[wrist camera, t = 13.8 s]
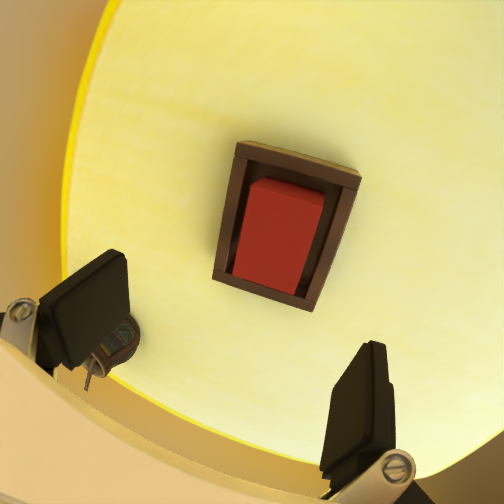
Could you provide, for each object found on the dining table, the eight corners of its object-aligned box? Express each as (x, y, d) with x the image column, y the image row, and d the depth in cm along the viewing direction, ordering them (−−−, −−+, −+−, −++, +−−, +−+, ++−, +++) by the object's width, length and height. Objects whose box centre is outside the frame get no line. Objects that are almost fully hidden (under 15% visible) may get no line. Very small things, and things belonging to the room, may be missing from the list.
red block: (265, 175, 20) (250, 185, 17) (325, 192, 20) (323, 206, 16) (247, 252, 23) (231, 275, 20) (300, 269, 23) (293, 295, 19)
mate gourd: (140, 304, 31) (87, 359, 22) (153, 351, 34) (112, 405, 25) (98, 293, 33) (46, 337, 24) (113, 338, 36) (71, 383, 27)
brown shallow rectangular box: (248, 140, 20) (236, 141, 18) (358, 171, 19) (362, 177, 17) (223, 264, 25) (211, 279, 23) (315, 294, 24) (312, 313, 22)
